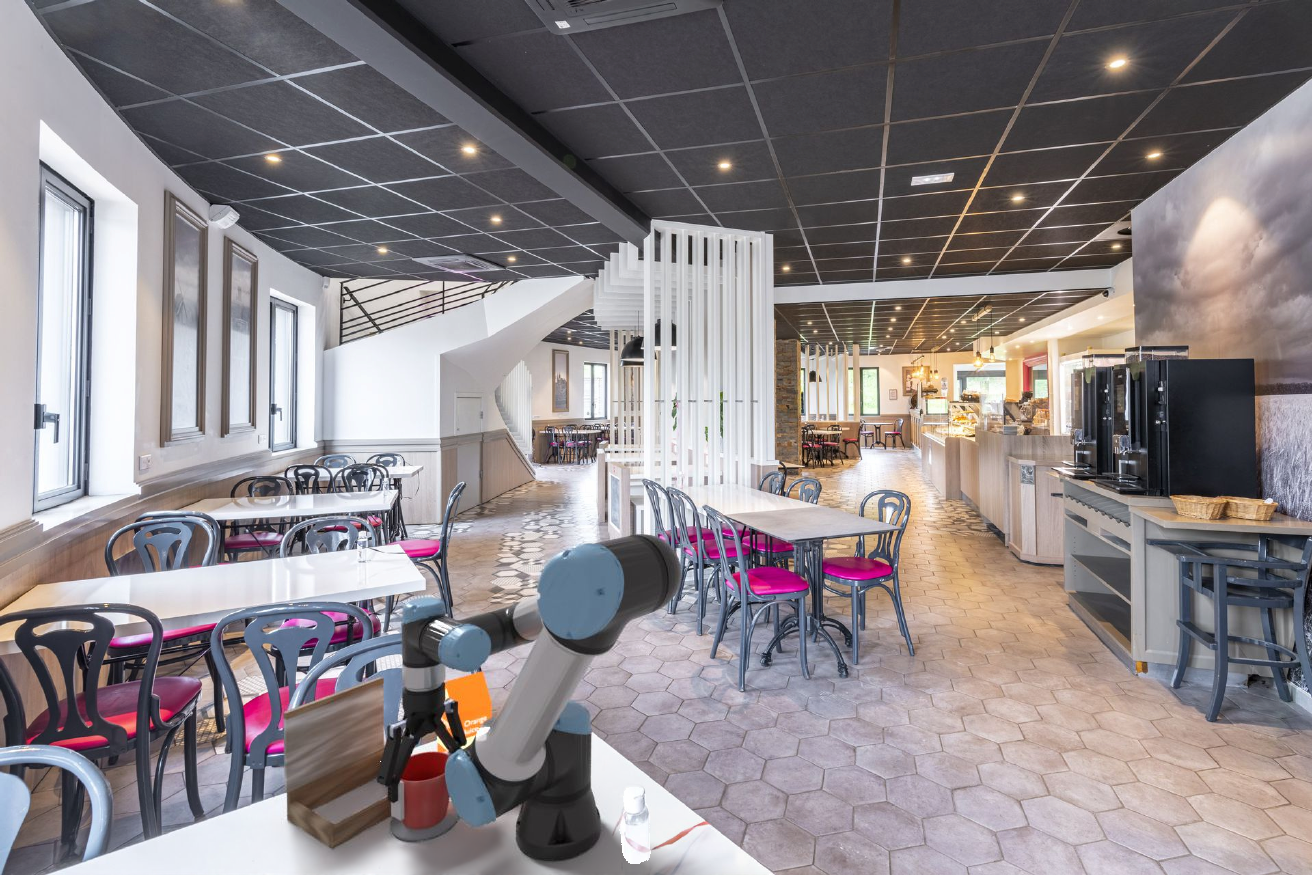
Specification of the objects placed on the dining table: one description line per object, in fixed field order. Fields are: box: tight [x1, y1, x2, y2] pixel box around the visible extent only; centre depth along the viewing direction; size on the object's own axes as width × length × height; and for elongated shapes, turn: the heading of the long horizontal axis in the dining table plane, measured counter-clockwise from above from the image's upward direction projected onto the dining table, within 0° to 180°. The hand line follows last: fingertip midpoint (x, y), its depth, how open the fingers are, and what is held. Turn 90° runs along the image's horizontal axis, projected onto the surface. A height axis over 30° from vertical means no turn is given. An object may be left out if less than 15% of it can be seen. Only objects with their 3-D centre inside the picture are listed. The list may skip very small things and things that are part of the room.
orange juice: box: [436, 670, 493, 752], centre depth 138 cm, size 8×9×20 cm
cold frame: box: [282, 676, 392, 850], centre depth 125 cm, size 17×20×20 cm
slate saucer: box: [389, 800, 460, 843], centre depth 121 cm, size 12×12×1 cm
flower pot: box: [394, 751, 451, 829], centre depth 120 cm, size 11×11×10 cm
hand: (424, 801), depth 120 cm, fingers closed on flower pot, 11 cm apart
